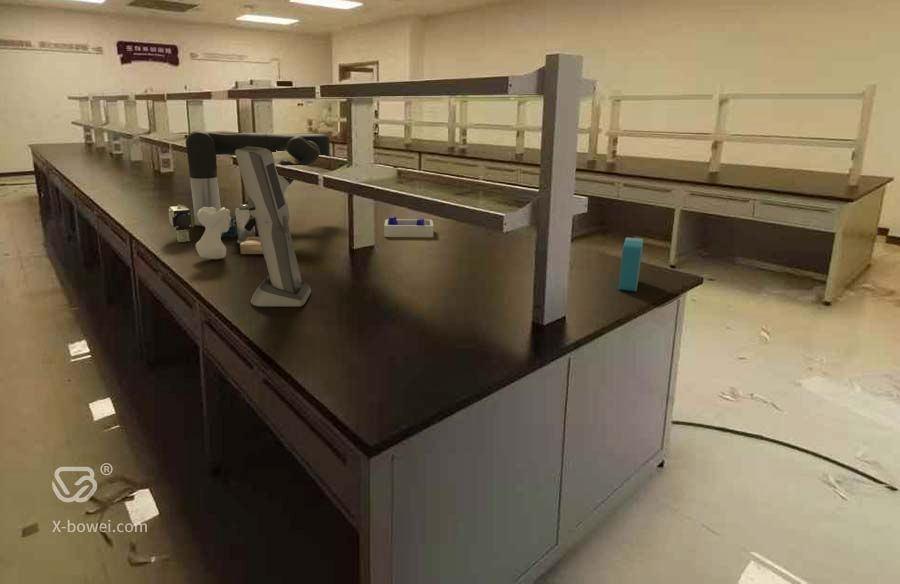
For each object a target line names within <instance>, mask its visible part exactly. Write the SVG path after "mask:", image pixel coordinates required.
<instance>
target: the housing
mask: <svg viewBox="0 0 900 584" xmlns="http://www.w3.org/2000/svg"><path fill="white" fill-rule="evenodd" d="M247 206H248V205H247V204H245V203H244V204H238V207H237V208H235V210H234V211H235V212H234V213H235V216H236V223H237V234H238V235H237V239H236V244H237V245H240V244H241V243H242V242H243V241H244V240H245V239H247V238H248V237H256V230H255V229H256V228H255V227H256V226H254V227H253V228H252V230H251V231H247V230H246V229H245V228H244V226H245V225H246V224H247V223H248V221H249V220H250V219H252V216H251V215H250V214H249V209H248V207H247Z"/></svg>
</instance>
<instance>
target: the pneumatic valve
mask: <svg viewBox="0 0 900 584" xmlns="http://www.w3.org/2000/svg"><path fill="white" fill-rule="evenodd" d="M168 220H169V223H170V225H171V226H172V227H173V228H174V229H175V233H176V236H177V237H176V241H178V243H179V242H181V243H186V242H187V241H188V243H190V242H191V239H190V235H189V234H190V232H189V230H193V225H192V217H191V210H190V209H189V208H188V207H187V205H181V204H177V205H174V206H169V208H168ZM189 241H190V242H189Z"/></svg>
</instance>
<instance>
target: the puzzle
mask: <svg viewBox="0 0 900 584" xmlns="http://www.w3.org/2000/svg"><path fill="white" fill-rule="evenodd" d="M230 217H231V221H230V223H229V225H230V227H229V230H228V231H227V232H223V233H222V234H221V237H223V236H234V237H236V236H238V235H237V226H236V225H235V224H234V222H235V221H236V215H235V216H234V215H233V216H232V215H230ZM235 235H236V236H235Z"/></svg>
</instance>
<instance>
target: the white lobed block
mask: <svg viewBox="0 0 900 584" xmlns="http://www.w3.org/2000/svg"><path fill="white" fill-rule="evenodd" d="M230 216H231V210H230V209H228V208H226V207H221V208H220V209H219V211H218V212H216V209H215V208H213V207H210V208H208V207H203V208H201V209H200V210H199V211H198V213H197V218H198V220H199V222H200V223H201V224H202V225H204V226H203V227H204V228H205V230H204V232H203V234H202V236H201V238H200V239H199V240H198V241H197V242H196V243H195V249H196V251H197V253H198V255H199V256H200V257H201V258H203V259H210V260H220V259H224V257H226V255H227V247H226V245H225V244H224V243H223V241H222V239H221V238H222V236H221V234H222V233H223V232H227V231H228V230H229V227H230V225H229V223H230V221H231V217H230Z"/></svg>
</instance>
